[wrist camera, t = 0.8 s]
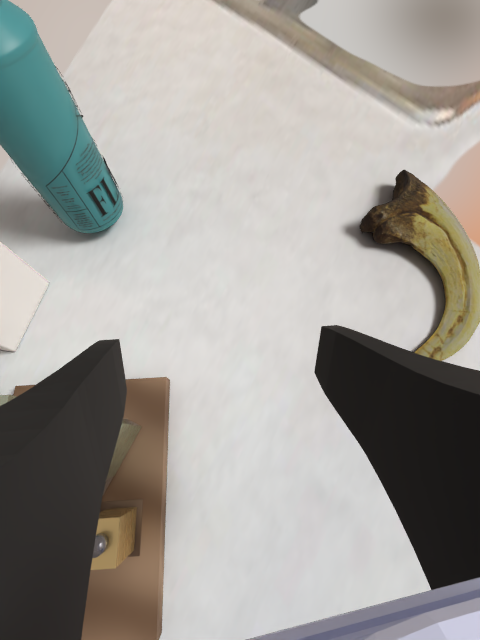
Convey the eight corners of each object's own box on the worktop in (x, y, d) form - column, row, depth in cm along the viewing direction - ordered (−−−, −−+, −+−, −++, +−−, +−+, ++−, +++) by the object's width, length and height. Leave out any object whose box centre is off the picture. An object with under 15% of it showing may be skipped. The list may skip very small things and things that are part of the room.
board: (161, 632, 19) (156, 645, 18) (-30, 645, 19) (-48, 659, 17) (169, 380, 25) (166, 376, 24) (25, 388, 25) (14, 385, 24)
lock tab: (133, 550, 19) (110, 572, 16) (103, 552, 19) (73, 575, 16) (136, 507, 20) (115, 519, 17) (107, 508, 20) (80, 522, 17)
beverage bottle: (121, 248, 30) (-76, -64, 12) (58, 241, 30) (-230, -70, 12) (137, 198, 32) (-3, -124, 14) (79, 193, 33) (-132, -128, 14)
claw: (343, 195, 33) (354, 169, 30) (431, 185, 33) (451, 159, 30) (403, 371, 26) (426, 362, 22) (513, 355, 26) (551, 344, 23)
